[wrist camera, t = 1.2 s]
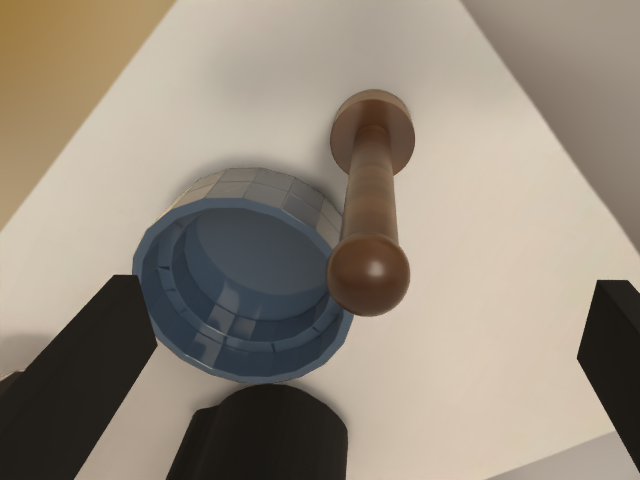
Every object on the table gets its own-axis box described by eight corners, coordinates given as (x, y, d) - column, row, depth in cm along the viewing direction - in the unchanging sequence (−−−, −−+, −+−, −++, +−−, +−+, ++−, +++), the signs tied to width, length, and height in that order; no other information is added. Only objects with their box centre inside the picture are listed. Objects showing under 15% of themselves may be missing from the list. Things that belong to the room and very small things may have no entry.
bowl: (146, 167, 34) (104, 199, 29) (354, 162, 32) (349, 196, 27) (187, 330, 41) (160, 379, 36) (359, 334, 39) (356, 387, 34)
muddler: (332, 91, 30) (273, 222, 13) (413, 87, 29) (461, 221, 12) (335, 167, 32) (290, 360, 16) (410, 165, 32) (448, 365, 15)
